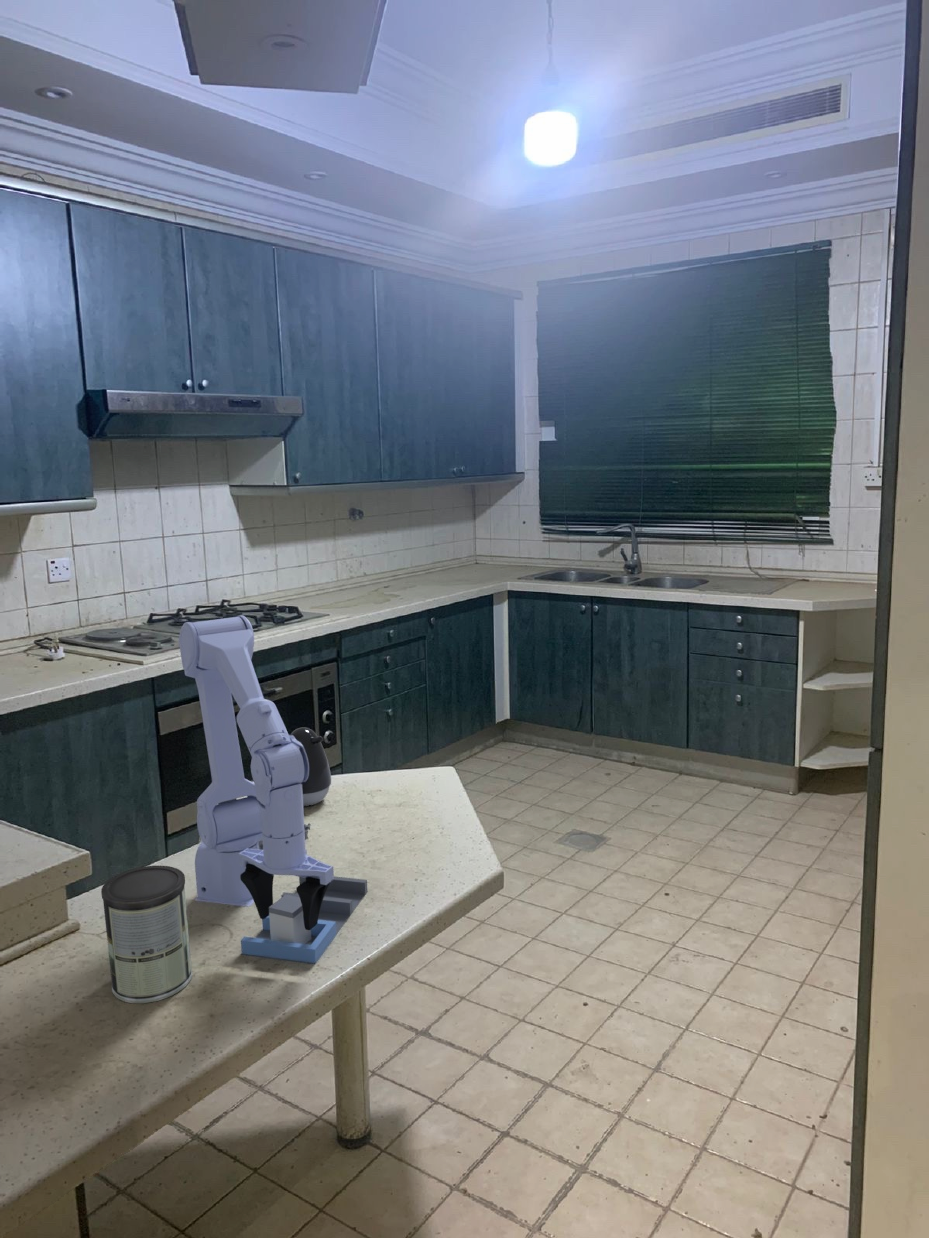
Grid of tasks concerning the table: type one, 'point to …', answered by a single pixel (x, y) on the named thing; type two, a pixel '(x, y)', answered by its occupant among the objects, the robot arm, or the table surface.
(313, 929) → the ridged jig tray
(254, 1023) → the table surface
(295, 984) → the table surface
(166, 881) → the coffee can
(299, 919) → the grey square block
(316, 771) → the black penguin toy
